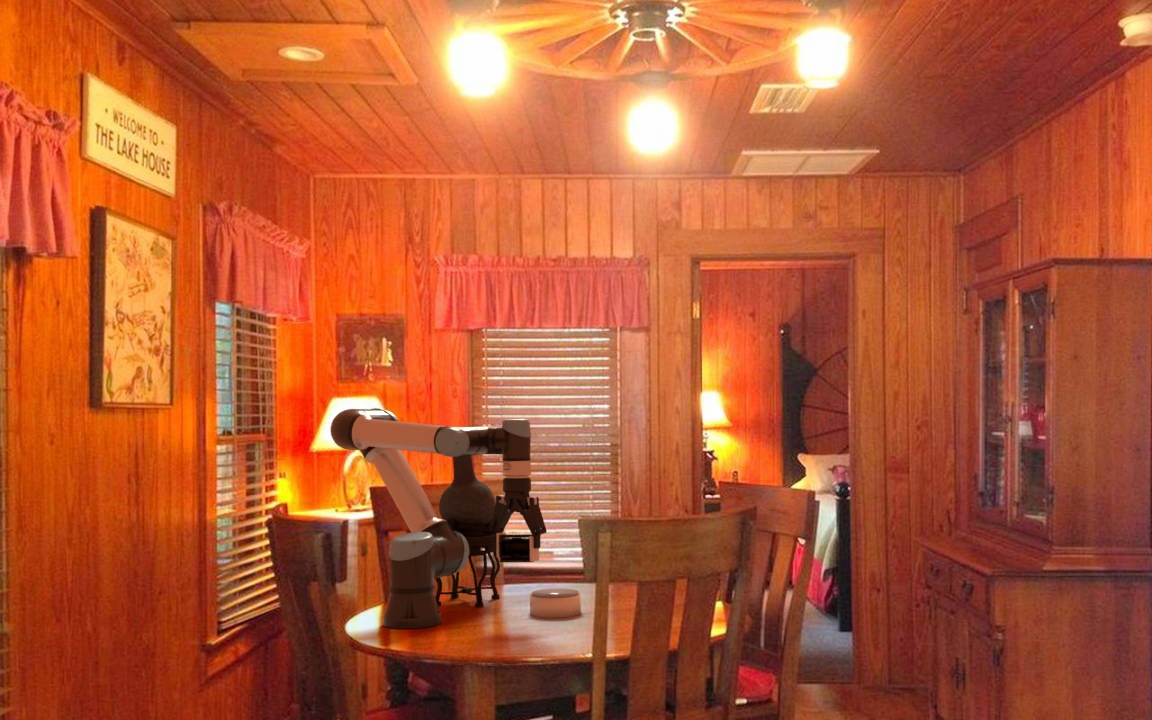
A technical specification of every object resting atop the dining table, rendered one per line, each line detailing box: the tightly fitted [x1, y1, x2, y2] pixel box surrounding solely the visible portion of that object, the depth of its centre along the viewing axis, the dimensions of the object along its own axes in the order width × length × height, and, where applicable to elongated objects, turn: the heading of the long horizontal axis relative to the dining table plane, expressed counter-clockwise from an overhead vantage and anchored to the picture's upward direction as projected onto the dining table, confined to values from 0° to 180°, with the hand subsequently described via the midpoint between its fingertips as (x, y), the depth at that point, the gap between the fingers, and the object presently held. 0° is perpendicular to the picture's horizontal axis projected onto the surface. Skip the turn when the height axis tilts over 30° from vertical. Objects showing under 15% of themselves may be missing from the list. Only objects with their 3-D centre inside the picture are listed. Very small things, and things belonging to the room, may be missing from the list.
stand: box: [529, 588, 582, 619], centre depth 292 cm, size 14×14×6 cm
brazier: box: [434, 455, 501, 608], centre depth 314 cm, size 22×22×45 cm
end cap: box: [498, 534, 535, 563], centre depth 281 cm, size 10×7×7 cm
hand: (517, 559), depth 281 cm, fingers closed on end cap, 12 cm apart
